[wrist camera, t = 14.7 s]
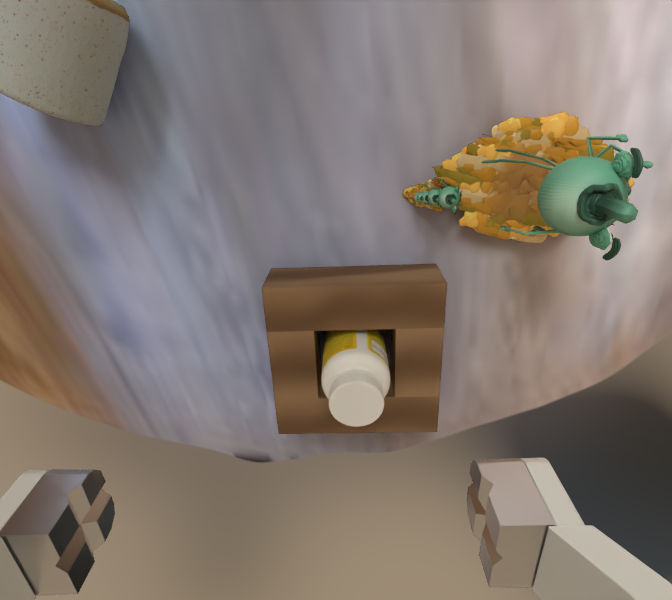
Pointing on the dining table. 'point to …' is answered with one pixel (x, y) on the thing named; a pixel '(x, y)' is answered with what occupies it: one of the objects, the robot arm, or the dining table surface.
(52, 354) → the dining table surface
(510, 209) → the green creature figurine
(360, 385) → the supplement bottle
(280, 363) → the socket block
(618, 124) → the dining table surface
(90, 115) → the ceramic mug
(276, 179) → the dining table surface
